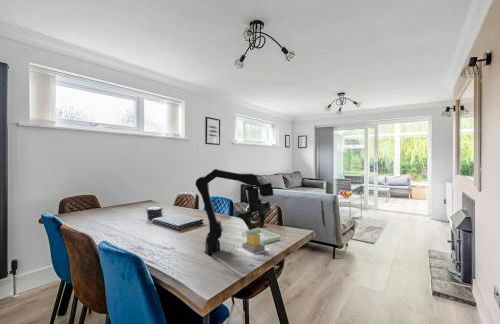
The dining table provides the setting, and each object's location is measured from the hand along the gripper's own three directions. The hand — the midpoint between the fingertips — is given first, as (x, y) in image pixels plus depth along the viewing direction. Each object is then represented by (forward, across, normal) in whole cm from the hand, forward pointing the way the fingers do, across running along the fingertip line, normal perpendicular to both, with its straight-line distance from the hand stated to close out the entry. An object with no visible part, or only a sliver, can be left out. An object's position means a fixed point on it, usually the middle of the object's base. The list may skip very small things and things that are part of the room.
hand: (256, 227), depth 130 cm
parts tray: (+12, +14, +12) cm, 23 cm away
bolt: (+13, +29, +30) cm, 43 cm away
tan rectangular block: (+11, -2, +2) cm, 11 cm away
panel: (+12, -2, +2) cm, 12 cm away
